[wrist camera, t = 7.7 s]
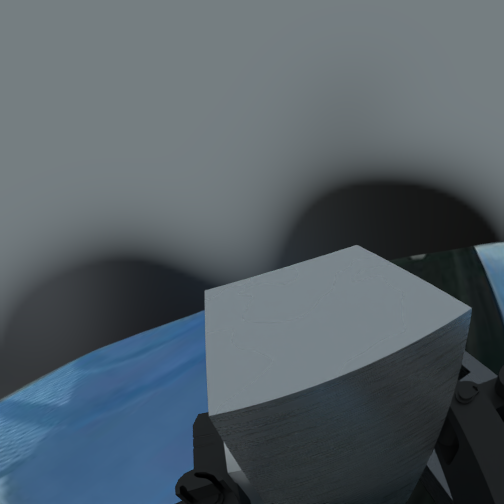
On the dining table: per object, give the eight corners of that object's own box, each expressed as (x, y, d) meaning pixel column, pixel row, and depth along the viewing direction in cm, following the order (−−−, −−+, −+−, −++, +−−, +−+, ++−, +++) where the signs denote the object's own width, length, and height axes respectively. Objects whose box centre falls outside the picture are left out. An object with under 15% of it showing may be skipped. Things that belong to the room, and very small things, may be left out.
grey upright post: (304, 551, 7) (208, 415, 3) (283, 483, 11) (204, 290, 8) (398, 515, 7) (471, 307, 4) (364, 454, 12) (356, 244, 8)
